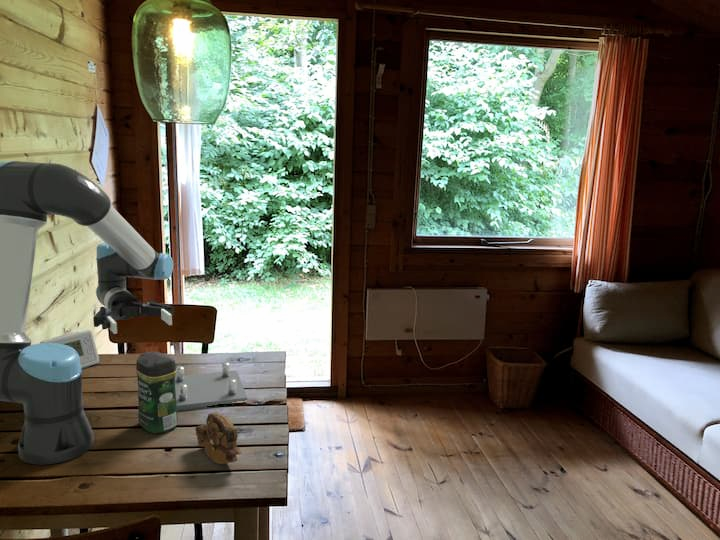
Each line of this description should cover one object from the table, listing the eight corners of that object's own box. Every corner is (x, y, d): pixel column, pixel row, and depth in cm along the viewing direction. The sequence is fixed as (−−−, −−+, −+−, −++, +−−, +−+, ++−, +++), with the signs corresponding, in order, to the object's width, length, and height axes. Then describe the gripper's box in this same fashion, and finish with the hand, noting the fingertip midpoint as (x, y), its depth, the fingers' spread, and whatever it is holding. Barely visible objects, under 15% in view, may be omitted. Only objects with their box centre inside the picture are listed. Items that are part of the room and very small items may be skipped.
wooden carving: (188, 449, 132) (187, 408, 129) (205, 442, 135) (205, 402, 133) (230, 478, 121) (230, 434, 119) (248, 469, 124) (248, 427, 122)
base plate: (247, 402, 156) (247, 383, 155) (170, 411, 149) (169, 392, 148) (236, 375, 174) (236, 358, 173) (167, 381, 167) (166, 364, 166)
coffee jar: (133, 424, 142) (130, 353, 138) (163, 414, 148) (160, 346, 144) (152, 438, 136) (149, 364, 132) (182, 427, 141) (181, 356, 137)
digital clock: (46, 380, 166) (43, 345, 163) (37, 370, 172) (34, 337, 170) (104, 367, 177) (102, 334, 174) (93, 358, 183) (91, 327, 181)
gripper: (166, 310, 169) (192, 330, 153) (74, 323, 155) (91, 347, 138) (165, 285, 168) (191, 303, 151) (71, 296, 153) (89, 317, 137)
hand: (143, 324), depth 145 cm, fingers open, 13 cm apart
